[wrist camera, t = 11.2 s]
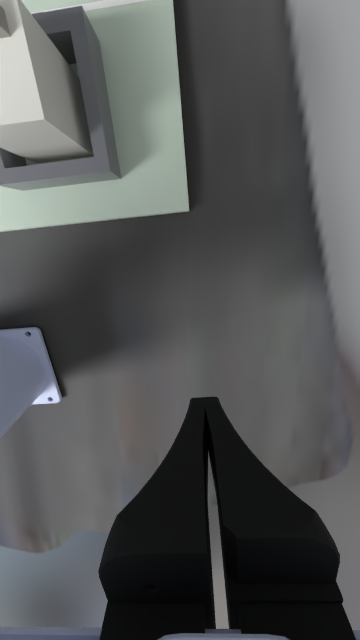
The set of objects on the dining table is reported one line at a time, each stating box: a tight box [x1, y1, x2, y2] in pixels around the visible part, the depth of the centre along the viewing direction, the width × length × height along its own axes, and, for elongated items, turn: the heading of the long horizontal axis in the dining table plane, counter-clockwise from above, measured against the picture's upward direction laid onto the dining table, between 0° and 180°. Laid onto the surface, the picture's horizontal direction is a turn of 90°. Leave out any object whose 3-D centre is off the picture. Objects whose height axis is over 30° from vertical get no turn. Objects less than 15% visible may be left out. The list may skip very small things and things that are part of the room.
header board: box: [0, 0, 189, 232], centre depth 15 cm, size 16×12×4 cm
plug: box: [0, 0, 94, 163], centre depth 13 cm, size 4×4×7 cm
